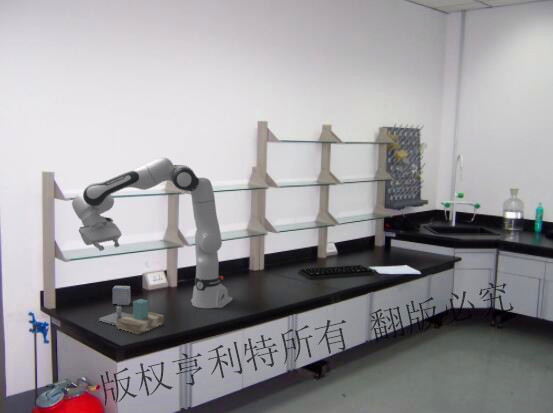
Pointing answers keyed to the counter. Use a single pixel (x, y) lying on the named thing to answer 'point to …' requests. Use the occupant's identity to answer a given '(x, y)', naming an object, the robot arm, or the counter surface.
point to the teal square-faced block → (140, 309)
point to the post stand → (114, 316)
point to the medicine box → (121, 295)
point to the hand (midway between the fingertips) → (110, 248)
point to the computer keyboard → (335, 272)
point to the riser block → (140, 323)
